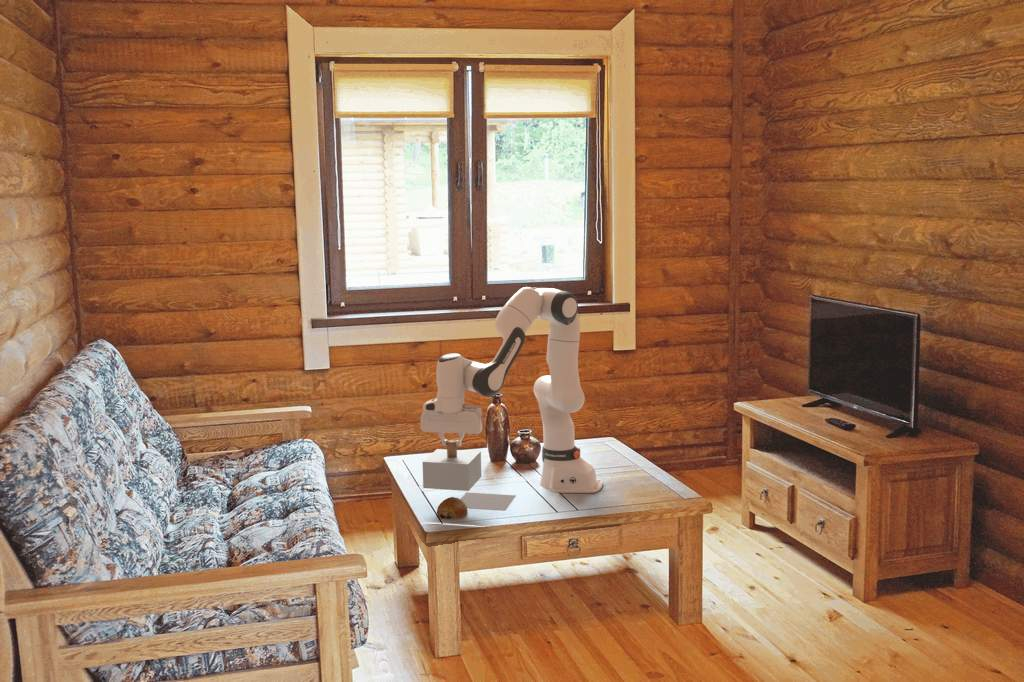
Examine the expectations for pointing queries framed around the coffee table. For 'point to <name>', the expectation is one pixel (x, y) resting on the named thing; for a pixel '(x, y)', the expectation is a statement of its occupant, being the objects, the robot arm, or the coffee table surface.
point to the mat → (487, 501)
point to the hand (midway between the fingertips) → (451, 445)
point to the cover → (452, 468)
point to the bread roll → (452, 508)
